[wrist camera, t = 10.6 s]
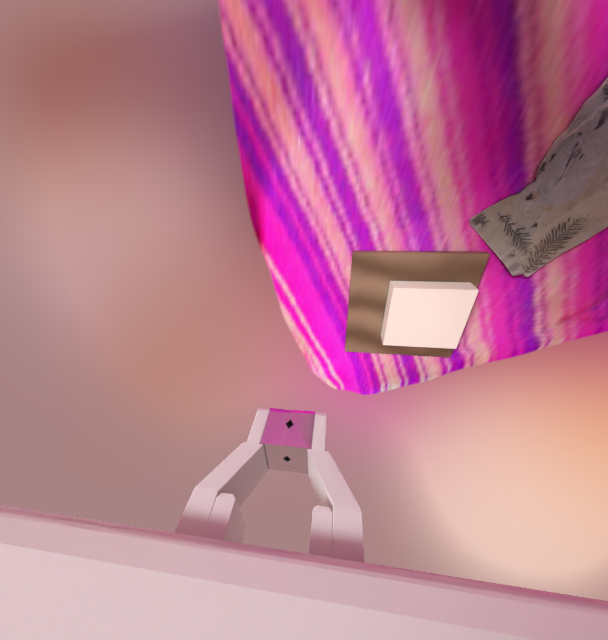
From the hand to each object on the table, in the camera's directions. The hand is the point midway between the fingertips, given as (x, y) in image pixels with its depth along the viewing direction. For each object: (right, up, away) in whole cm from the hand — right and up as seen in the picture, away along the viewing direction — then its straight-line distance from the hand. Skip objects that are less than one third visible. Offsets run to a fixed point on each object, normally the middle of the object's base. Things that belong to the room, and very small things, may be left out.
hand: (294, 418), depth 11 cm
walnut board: (+17, +6, +28) cm, 33 cm away
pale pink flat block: (+13, +5, +26) cm, 30 cm away
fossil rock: (+31, +20, +18) cm, 41 cm away
